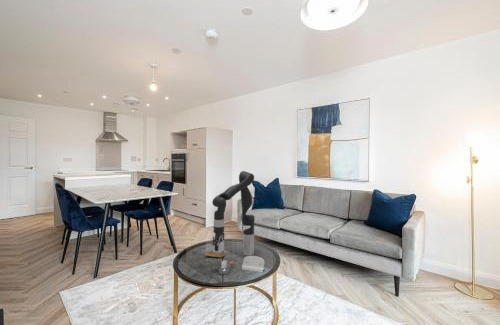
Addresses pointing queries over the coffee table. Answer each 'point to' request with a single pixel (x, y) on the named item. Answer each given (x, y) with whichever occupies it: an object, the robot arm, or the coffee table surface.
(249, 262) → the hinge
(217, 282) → the coffee table surface
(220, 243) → the socket
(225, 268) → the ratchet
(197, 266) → the coffee table surface
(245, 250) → the robot arm
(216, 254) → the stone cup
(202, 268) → the coffee table surface
